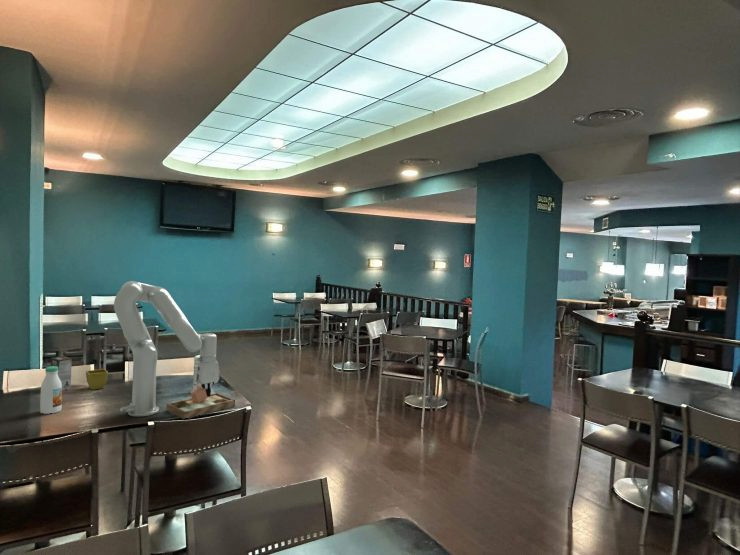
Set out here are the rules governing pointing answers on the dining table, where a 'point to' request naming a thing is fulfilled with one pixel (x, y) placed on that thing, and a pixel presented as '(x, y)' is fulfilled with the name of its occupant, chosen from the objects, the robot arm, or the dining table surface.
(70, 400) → the dining table surface
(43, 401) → the milk bottle
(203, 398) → the block
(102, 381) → the flower pot
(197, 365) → the juice carton
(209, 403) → the tray
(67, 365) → the coffee box
